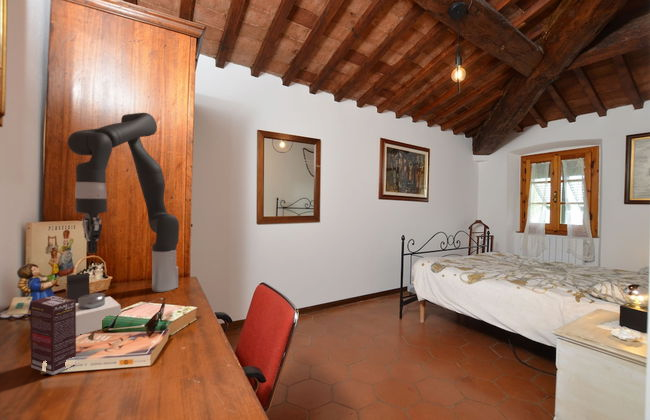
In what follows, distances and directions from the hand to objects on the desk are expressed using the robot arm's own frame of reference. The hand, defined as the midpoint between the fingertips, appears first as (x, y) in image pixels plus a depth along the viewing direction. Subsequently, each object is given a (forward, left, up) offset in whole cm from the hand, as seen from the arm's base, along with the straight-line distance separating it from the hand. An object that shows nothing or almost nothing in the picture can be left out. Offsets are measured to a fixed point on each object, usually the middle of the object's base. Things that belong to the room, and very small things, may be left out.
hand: (92, 252), depth 88 cm
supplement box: (+11, +21, -23) cm, 33 cm away
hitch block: (0, 0, -23) cm, 23 cm away
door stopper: (0, -21, -23) cm, 31 cm away
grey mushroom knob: (0, 0, -22) cm, 22 cm away
